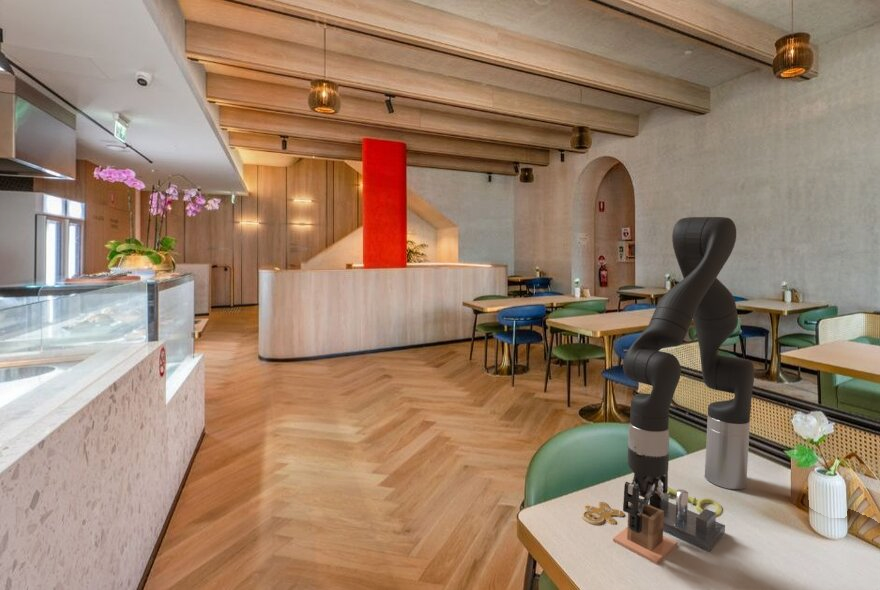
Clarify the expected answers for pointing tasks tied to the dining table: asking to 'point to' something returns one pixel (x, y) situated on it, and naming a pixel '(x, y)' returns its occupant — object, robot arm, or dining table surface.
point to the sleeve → (648, 528)
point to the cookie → (601, 514)
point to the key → (699, 502)
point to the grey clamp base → (691, 522)
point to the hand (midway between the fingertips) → (645, 522)
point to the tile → (650, 555)
